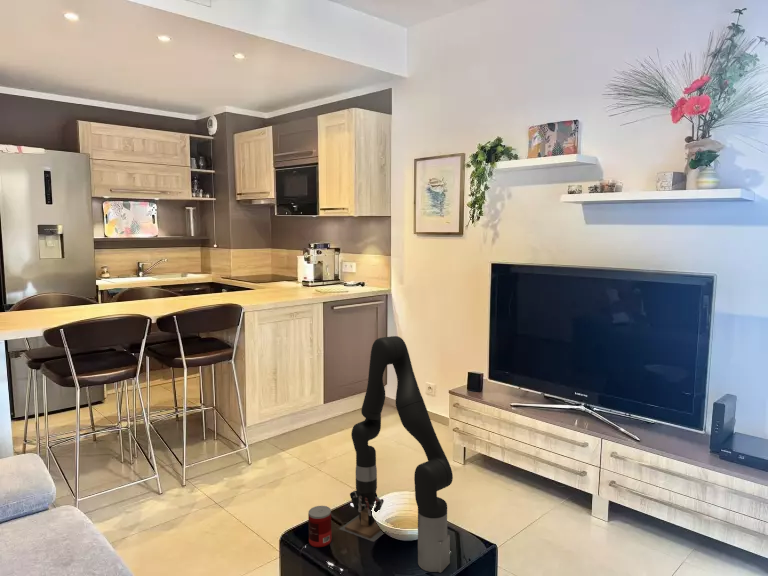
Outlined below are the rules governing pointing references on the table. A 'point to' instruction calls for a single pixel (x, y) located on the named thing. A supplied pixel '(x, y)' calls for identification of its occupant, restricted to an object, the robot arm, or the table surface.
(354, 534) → the mat
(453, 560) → the table surface
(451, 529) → the table surface
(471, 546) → the table surface
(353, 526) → the lid
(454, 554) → the table surface
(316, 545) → the canned food
